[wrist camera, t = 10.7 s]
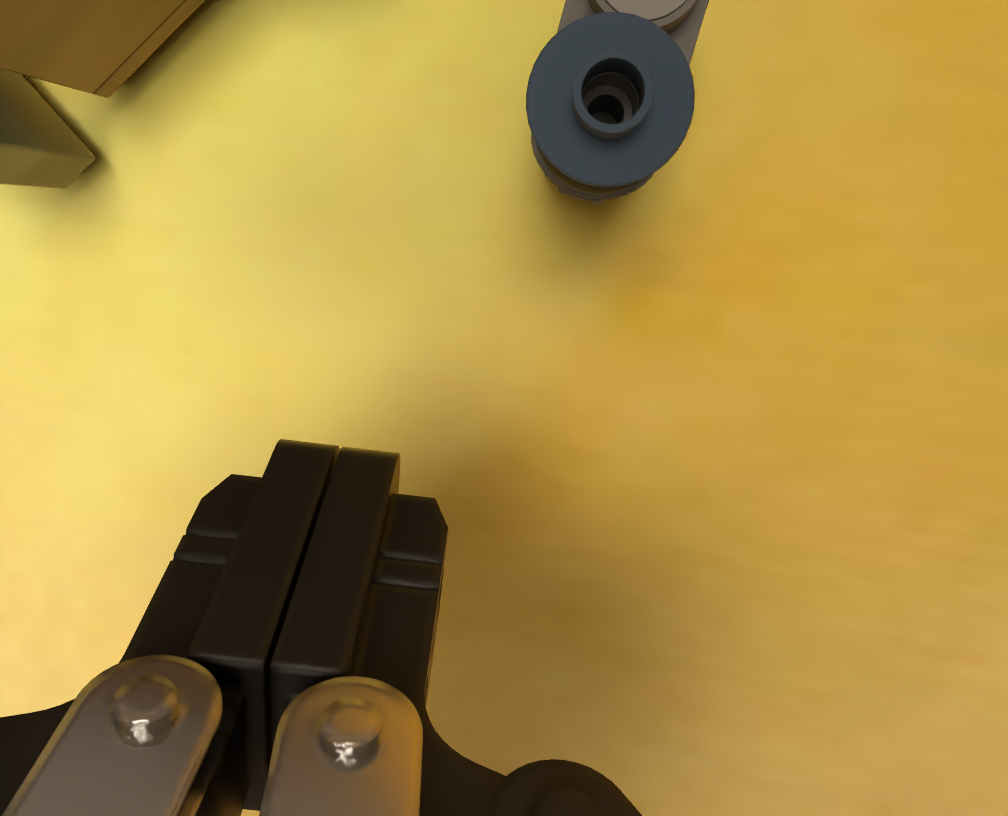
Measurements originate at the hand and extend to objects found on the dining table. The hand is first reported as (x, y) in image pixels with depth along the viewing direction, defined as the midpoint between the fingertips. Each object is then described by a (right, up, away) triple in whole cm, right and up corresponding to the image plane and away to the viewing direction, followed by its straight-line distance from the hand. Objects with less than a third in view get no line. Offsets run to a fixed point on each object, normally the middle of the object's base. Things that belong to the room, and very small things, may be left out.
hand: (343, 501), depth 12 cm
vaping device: (+5, +9, +12) cm, 16 cm away
